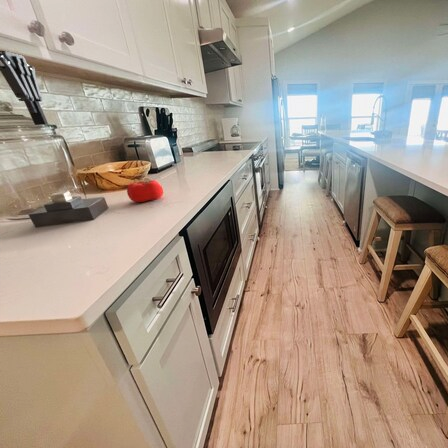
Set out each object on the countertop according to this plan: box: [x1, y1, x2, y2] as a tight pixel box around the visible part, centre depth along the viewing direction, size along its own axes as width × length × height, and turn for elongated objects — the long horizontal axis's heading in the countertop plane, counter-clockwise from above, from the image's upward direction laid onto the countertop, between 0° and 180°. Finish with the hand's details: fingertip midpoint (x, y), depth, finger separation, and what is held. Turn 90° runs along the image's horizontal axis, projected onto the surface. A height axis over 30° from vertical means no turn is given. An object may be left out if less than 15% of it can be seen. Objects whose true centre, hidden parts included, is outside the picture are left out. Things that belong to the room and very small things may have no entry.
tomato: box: [126, 179, 164, 203], centre depth 86 cm, size 10×11×6 cm
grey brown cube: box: [49, 191, 73, 203], centre depth 69 cm, size 3×3×3 cm
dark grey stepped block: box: [28, 195, 109, 229], centre depth 72 cm, size 14×11×6 cm
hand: (41, 124), depth 75 cm, fingers closed
